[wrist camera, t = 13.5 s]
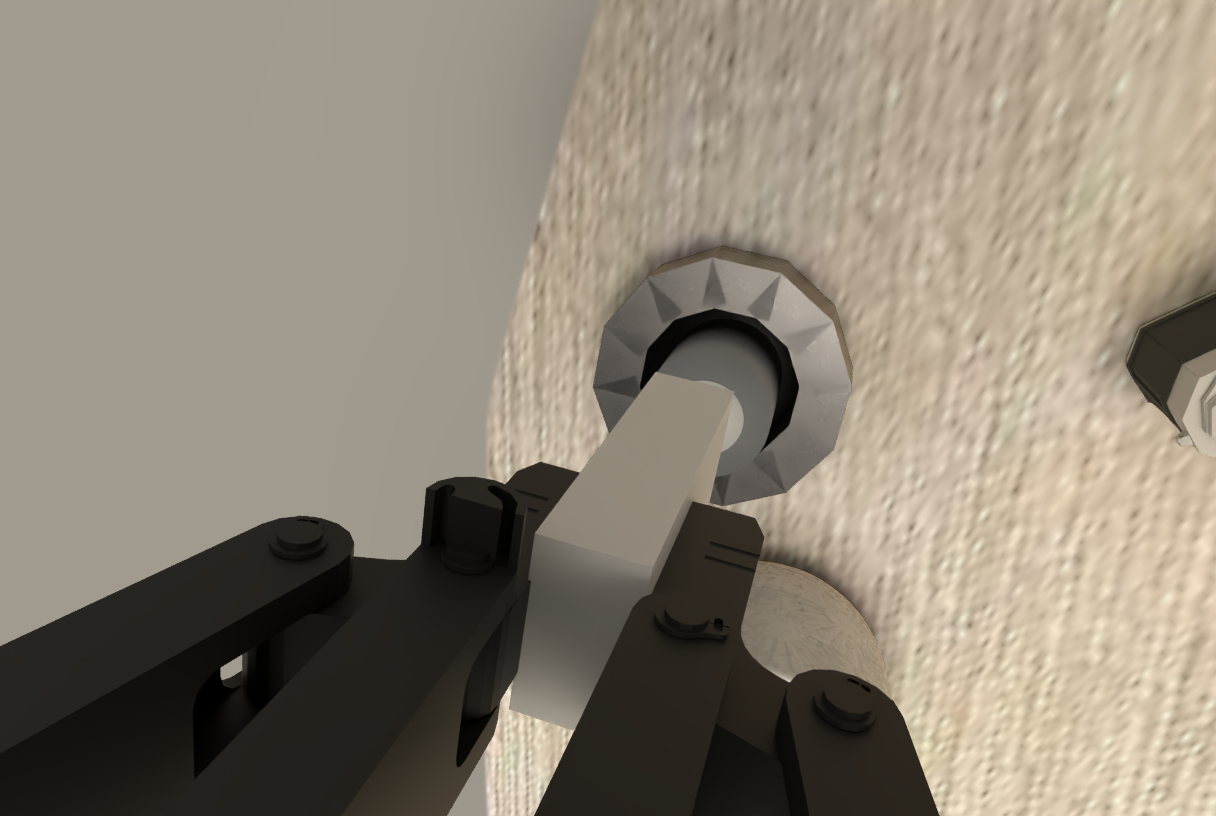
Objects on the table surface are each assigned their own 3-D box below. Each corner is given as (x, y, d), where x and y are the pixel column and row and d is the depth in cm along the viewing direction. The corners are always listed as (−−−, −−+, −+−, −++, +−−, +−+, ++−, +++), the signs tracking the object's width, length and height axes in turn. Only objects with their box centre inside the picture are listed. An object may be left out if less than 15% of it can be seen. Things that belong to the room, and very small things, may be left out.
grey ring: (636, 226, 41) (620, 236, 38) (877, 281, 39) (879, 295, 36) (595, 442, 45) (578, 466, 42) (813, 501, 43) (809, 530, 40)
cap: (682, 307, 41) (654, 341, 35) (794, 333, 40) (783, 373, 34) (660, 411, 43) (630, 459, 37) (767, 438, 42) (753, 493, 36)
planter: (772, 483, 43) (745, 603, 33) (952, 672, 44) (979, 845, 34) (592, 625, 48) (521, 766, 38) (756, 792, 49) (729, 974, 39)
